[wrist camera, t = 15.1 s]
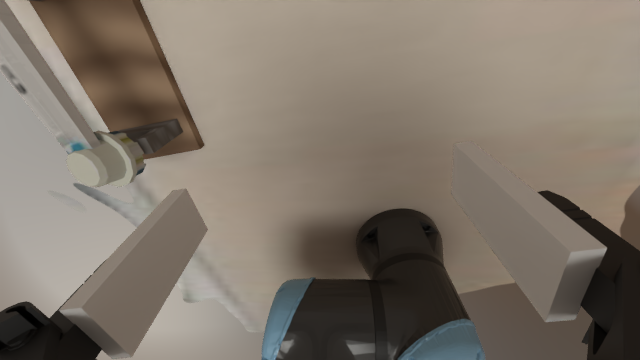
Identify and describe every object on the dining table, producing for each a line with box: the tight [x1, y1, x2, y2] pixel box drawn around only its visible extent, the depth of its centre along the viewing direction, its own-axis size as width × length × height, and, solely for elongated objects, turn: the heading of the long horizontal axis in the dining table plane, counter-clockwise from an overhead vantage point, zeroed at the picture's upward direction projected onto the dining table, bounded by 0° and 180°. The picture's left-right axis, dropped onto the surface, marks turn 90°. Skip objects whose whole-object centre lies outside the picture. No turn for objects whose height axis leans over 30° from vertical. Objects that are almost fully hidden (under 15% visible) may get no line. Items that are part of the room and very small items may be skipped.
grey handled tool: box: [0, 0, 146, 187], centre depth 26 cm, size 5×7×25 cm
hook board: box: [29, 0, 204, 160], centre depth 32 cm, size 26×12×9 cm, turn 11°
